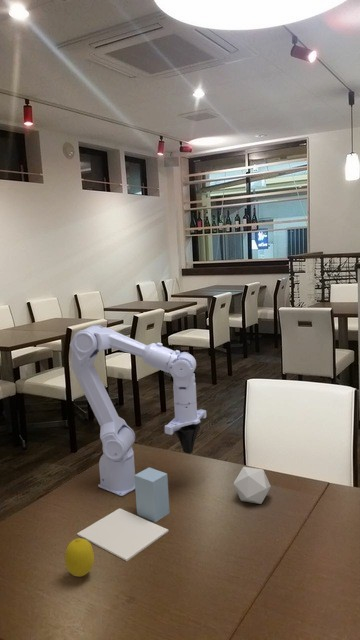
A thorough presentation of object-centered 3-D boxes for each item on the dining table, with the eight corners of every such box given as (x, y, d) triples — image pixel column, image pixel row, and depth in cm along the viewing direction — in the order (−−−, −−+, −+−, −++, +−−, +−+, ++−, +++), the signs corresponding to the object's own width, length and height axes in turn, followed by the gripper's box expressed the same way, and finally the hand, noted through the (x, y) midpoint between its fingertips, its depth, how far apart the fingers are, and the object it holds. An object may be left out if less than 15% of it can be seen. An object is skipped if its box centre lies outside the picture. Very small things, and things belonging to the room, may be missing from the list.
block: (137, 514, 118) (134, 475, 116) (152, 505, 122) (149, 466, 120) (155, 522, 114) (152, 482, 112) (170, 512, 118) (167, 473, 116)
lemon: (100, 569, 98) (97, 532, 97) (86, 588, 93) (83, 549, 92) (76, 565, 100) (73, 528, 99) (61, 582, 95) (57, 544, 94)
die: (275, 497, 124) (257, 461, 127) (277, 496, 116) (258, 458, 119) (245, 511, 123) (228, 474, 127) (246, 511, 115) (228, 472, 119)
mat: (77, 534, 110) (77, 533, 110) (119, 509, 120) (119, 508, 120) (126, 561, 100) (126, 559, 100) (168, 531, 110) (168, 529, 110)
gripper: (178, 412, 117) (181, 466, 119) (214, 396, 128) (216, 445, 130) (157, 407, 121) (160, 459, 123) (193, 392, 132) (195, 440, 134)
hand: (187, 452), depth 127 cm, fingers closed
